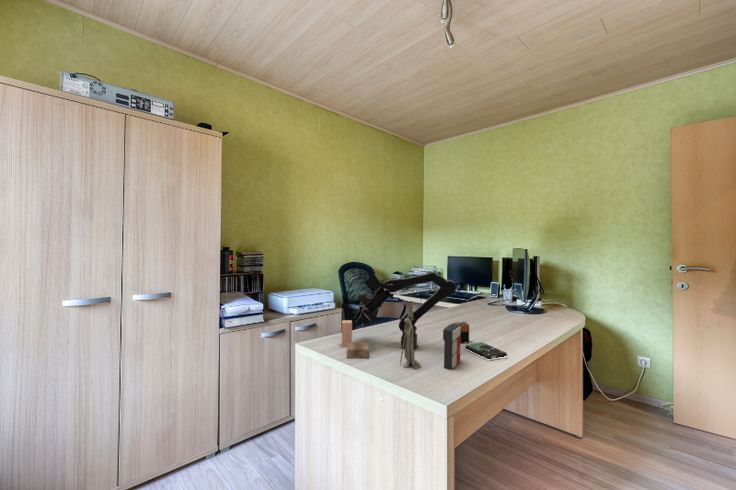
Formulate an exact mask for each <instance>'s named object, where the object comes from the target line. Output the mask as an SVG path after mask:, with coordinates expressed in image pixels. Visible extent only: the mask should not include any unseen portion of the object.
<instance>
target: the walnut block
mask: <svg viewBox="0 0 736 490" xmlns="http://www.w3.org/2000/svg"><path fill="white" fill-rule="evenodd" d="M369 347H370V346H369V342H364V341H363V342H356V341H355V342H353V341H352V342H348V347H346V348H347V349H346V351H347V352H346V356H347V357H346V359H370V348H369Z"/></svg>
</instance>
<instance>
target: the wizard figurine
mask: <svg viewBox="0 0 736 490" xmlns="http://www.w3.org/2000/svg"><path fill="white" fill-rule="evenodd" d="M408 305H409V306H408V311H407V312H408V317H410V318H411V320H410V319H409V318H408V317H407V318H406V319H405V320H404V321H405V324H406V325H405V329H404V332H405V335H404V342H405V336H406V344H405V349H403V348H404V342H403V348H401V349H402V350H401V354H400V355H401V356H400V360H399V361H400V362H399V365H400V366H401V363H402V360H403V353H404V359H405V361H407V362H406V365H405V366H403V368H404V369H407V368H410V364H412V367H413V369H414V370H417V369H420V368H422V365H421V363H420V362H419V361H417V360H416V359H415V357H416V356H415V350H414V330H413V326H412V323H411V321H412V320H413V312H414V308H413V307H414V306H413V305H414V304H413V301H412V300H410V301H409V304H408Z"/></svg>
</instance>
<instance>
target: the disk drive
mask: <svg viewBox="0 0 736 490" xmlns="http://www.w3.org/2000/svg"><path fill="white" fill-rule="evenodd" d="M465 348H466V349H468V350H470V351H472V352H474V353H476V354H478V355H480V356H483V357H485V358H487V359H492V358H498V357H504V356H507V357H508V353H507V352H506V351H504V350H501V349H499V348H496V347H495V346H492V345H489V344H488V343H485V342H476V343H475V342H474V343H470V344H469V343H465V347H464V349H465ZM466 349H465V350H466ZM468 350H467V351H468ZM470 351H469V352H470ZM472 352H471V353H472ZM474 353H473V354H474ZM476 354H475V355H476ZM478 355H477V356H478ZM480 356H479V357H480Z"/></svg>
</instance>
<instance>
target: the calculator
mask: <svg viewBox="0 0 736 490" xmlns="http://www.w3.org/2000/svg"><path fill="white" fill-rule="evenodd" d="M460 328H461V327H460V325H458V324H453V323H450V324H449V325H447V326H446V327H445V328H443V329H442V340H443V341H444V350H443V351H444V352H443V355H444V356H443V368H444V369H448V370H453V369H454V368H455V367H456V366H457V365H458V363H460V361H461V346H462V345H461V344H462V343H461V336H460Z"/></svg>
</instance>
